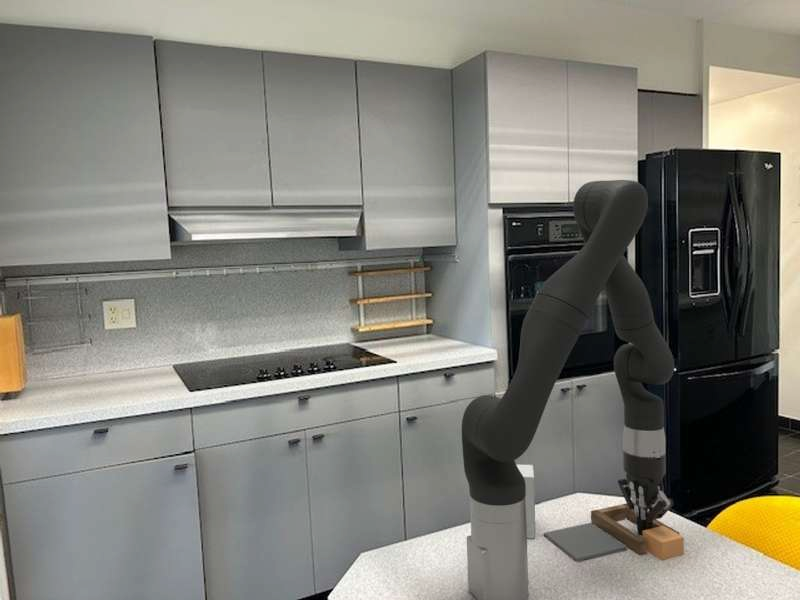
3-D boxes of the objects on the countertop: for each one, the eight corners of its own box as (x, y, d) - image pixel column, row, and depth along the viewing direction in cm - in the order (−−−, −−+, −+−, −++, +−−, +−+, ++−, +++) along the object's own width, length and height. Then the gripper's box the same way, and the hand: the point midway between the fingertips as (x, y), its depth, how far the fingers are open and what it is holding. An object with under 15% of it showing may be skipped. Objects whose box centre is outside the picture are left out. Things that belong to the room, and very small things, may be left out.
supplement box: (535, 539, 121) (534, 477, 120) (498, 537, 122) (496, 476, 121) (535, 522, 128) (533, 464, 127) (499, 520, 129) (497, 463, 128)
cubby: (639, 555, 113) (639, 542, 113) (591, 522, 127) (590, 511, 126) (679, 545, 116) (679, 532, 116) (627, 514, 130) (627, 503, 129)
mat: (576, 561, 111) (576, 558, 111) (543, 535, 122) (543, 532, 122) (626, 549, 115) (626, 546, 115) (590, 525, 125) (590, 522, 125)
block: (662, 561, 111) (662, 542, 110) (642, 548, 116) (642, 530, 115) (683, 555, 112) (683, 537, 112) (663, 543, 117) (663, 525, 117)
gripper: (605, 441, 121) (606, 525, 123) (653, 462, 109) (654, 555, 111) (635, 436, 124) (636, 518, 125) (686, 456, 111) (686, 547, 113)
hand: (644, 535), depth 118 cm, fingers closed
